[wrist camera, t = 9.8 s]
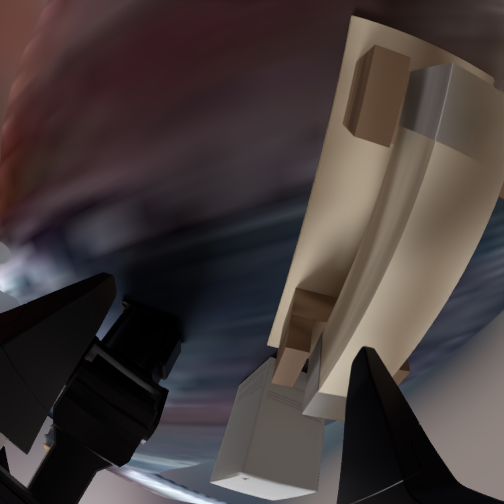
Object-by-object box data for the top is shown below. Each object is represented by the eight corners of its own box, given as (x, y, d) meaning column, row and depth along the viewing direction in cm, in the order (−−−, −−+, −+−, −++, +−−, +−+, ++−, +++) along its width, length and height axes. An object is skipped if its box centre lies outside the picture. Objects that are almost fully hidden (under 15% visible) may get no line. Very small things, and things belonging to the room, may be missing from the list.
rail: (308, 358, 21) (302, 414, 17) (410, 71, 11) (452, 62, 6) (352, 367, 21) (352, 422, 17) (470, 99, 10) (524, 107, 6)
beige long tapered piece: (269, 337, 26) (253, 400, 20) (350, 19, 13) (366, -21, 7) (369, 359, 25) (372, 421, 19) (487, 78, 12) (550, 82, 6)
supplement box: (237, 384, 31) (205, 482, 21) (271, 353, 28) (241, 473, 17) (290, 408, 32) (272, 502, 21) (330, 382, 28) (319, 493, 17)
